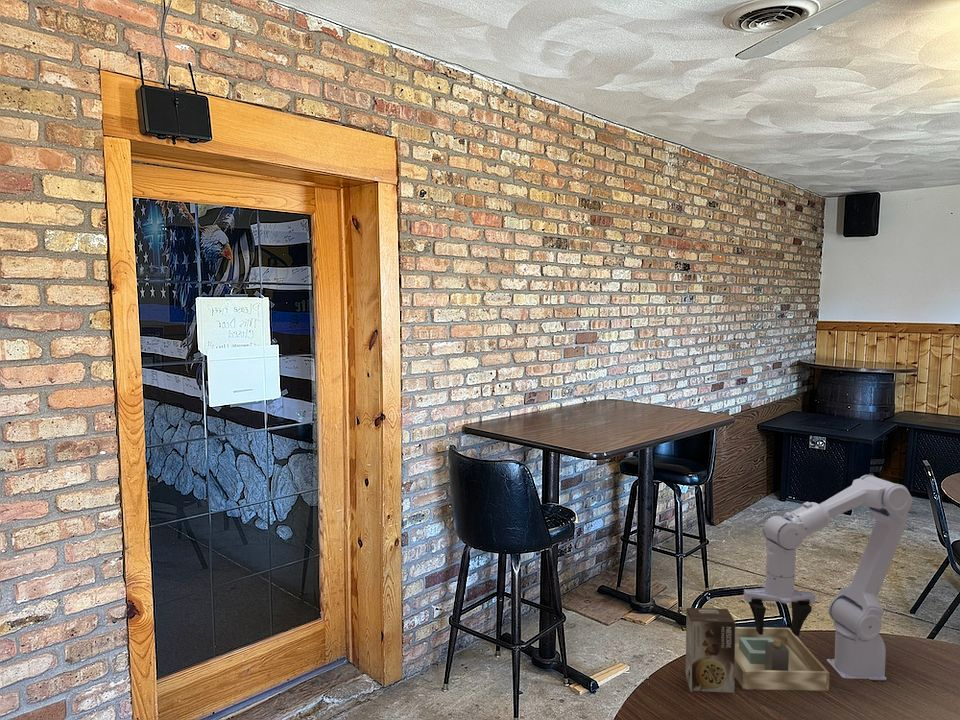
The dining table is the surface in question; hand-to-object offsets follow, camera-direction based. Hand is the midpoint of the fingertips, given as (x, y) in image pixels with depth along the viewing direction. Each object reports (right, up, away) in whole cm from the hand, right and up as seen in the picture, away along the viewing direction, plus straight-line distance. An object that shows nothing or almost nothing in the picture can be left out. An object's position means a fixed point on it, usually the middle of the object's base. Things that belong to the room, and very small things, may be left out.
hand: (777, 633), depth 146 cm
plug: (0, -10, +1) cm, 10 cm away
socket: (0, -10, +10) cm, 14 cm away
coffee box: (-16, -11, -2) cm, 19 cm away
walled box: (0, -10, +6) cm, 12 cm away
